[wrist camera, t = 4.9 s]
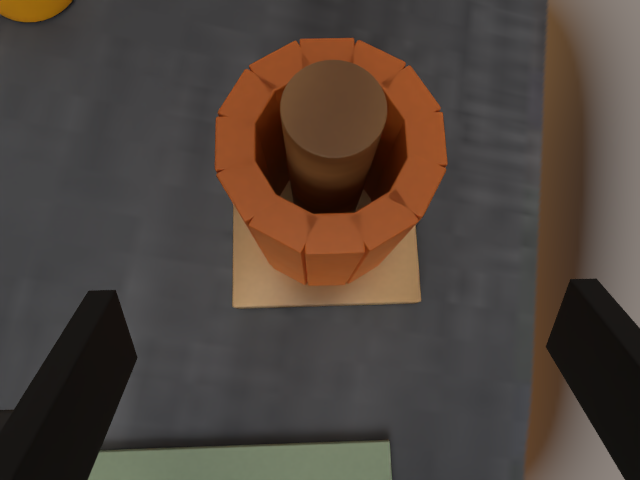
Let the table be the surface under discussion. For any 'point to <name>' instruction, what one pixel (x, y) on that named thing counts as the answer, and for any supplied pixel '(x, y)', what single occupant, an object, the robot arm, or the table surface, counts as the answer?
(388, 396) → the table surface
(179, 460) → the mat
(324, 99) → the peg stand
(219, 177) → the orange hollow tube
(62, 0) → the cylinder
